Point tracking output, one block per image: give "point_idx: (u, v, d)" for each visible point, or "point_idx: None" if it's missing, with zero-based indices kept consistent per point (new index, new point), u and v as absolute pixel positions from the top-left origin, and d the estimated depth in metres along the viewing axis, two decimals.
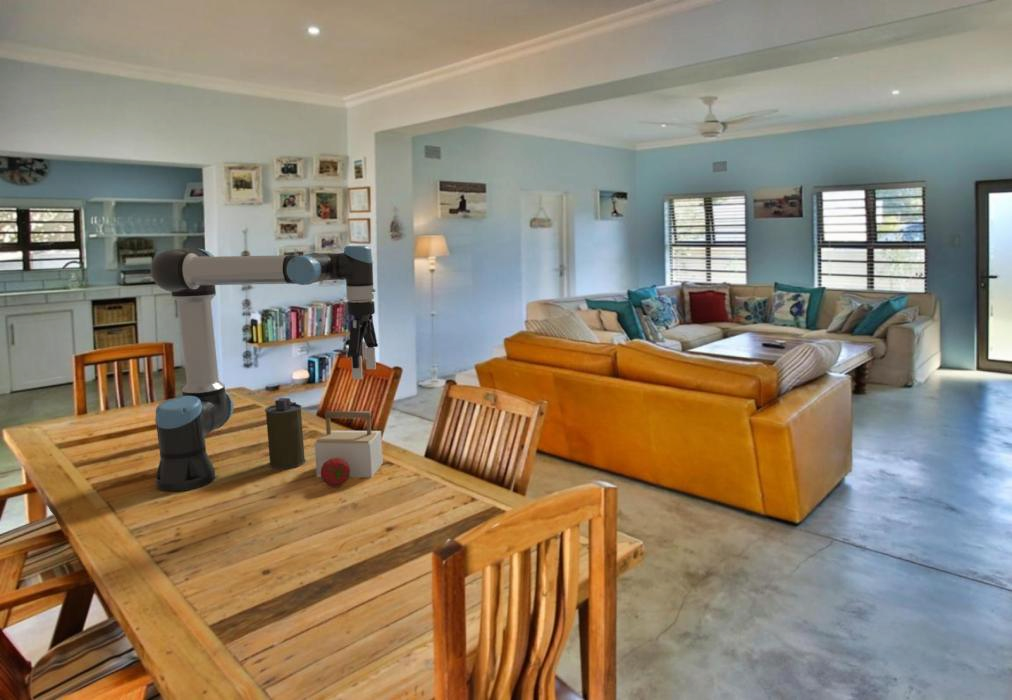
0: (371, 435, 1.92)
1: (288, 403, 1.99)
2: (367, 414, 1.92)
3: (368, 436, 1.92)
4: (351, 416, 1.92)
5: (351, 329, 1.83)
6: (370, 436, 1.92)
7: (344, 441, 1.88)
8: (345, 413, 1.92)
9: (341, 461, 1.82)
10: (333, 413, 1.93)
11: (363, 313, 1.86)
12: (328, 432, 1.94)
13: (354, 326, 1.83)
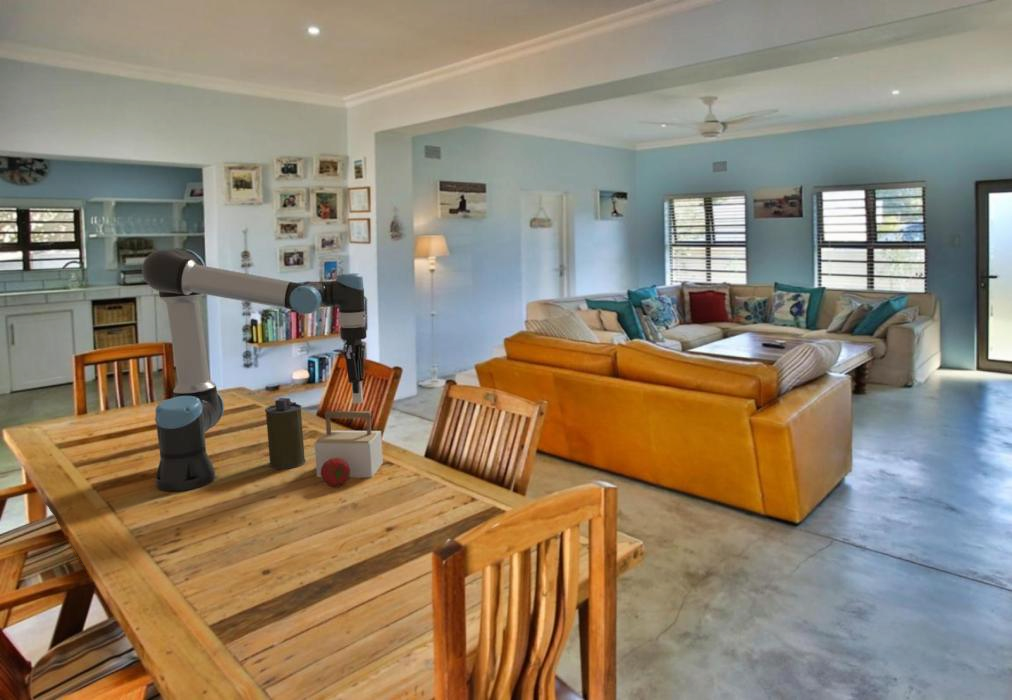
0: (371, 435, 1.92)
1: (288, 403, 1.99)
2: (367, 414, 1.92)
3: (368, 436, 1.92)
4: (351, 416, 1.92)
5: (346, 360, 1.95)
6: (370, 436, 1.92)
7: (344, 441, 1.88)
8: (345, 413, 1.92)
9: (341, 461, 1.82)
10: (333, 413, 1.93)
11: (355, 338, 1.95)
12: (328, 432, 1.94)
13: (349, 358, 1.94)
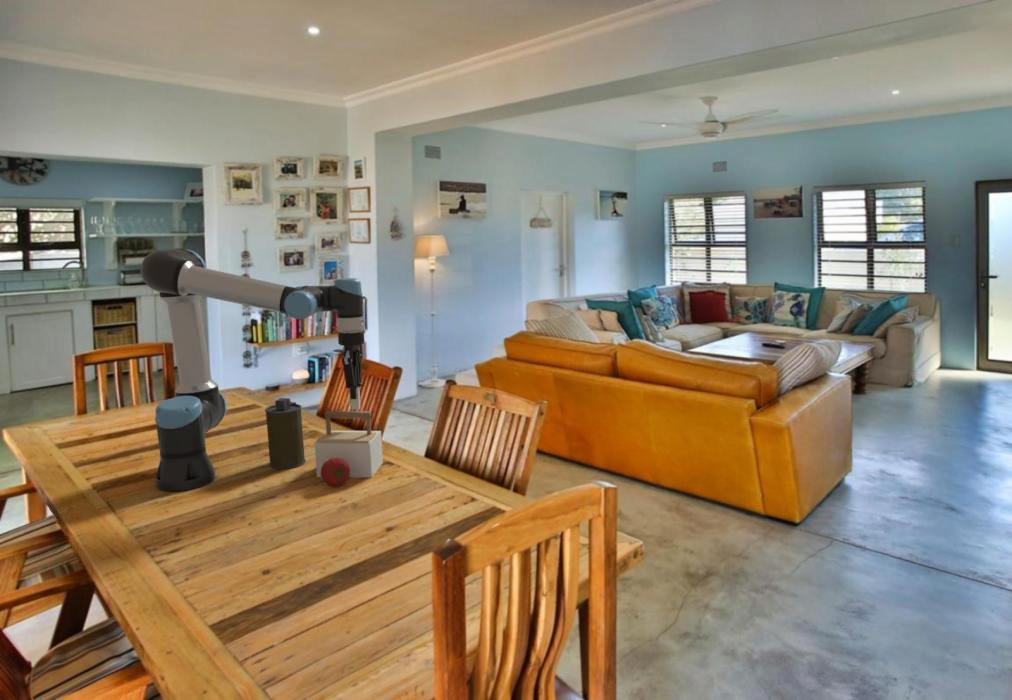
0: (371, 435, 1.92)
1: (288, 403, 1.99)
2: (367, 414, 1.92)
3: (368, 436, 1.92)
4: (351, 416, 1.92)
5: (344, 366, 1.93)
6: (370, 436, 1.92)
7: (344, 441, 1.88)
8: (345, 413, 1.92)
9: (341, 461, 1.82)
10: (333, 413, 1.93)
11: (353, 343, 1.93)
12: (328, 432, 1.94)
13: (346, 363, 1.92)
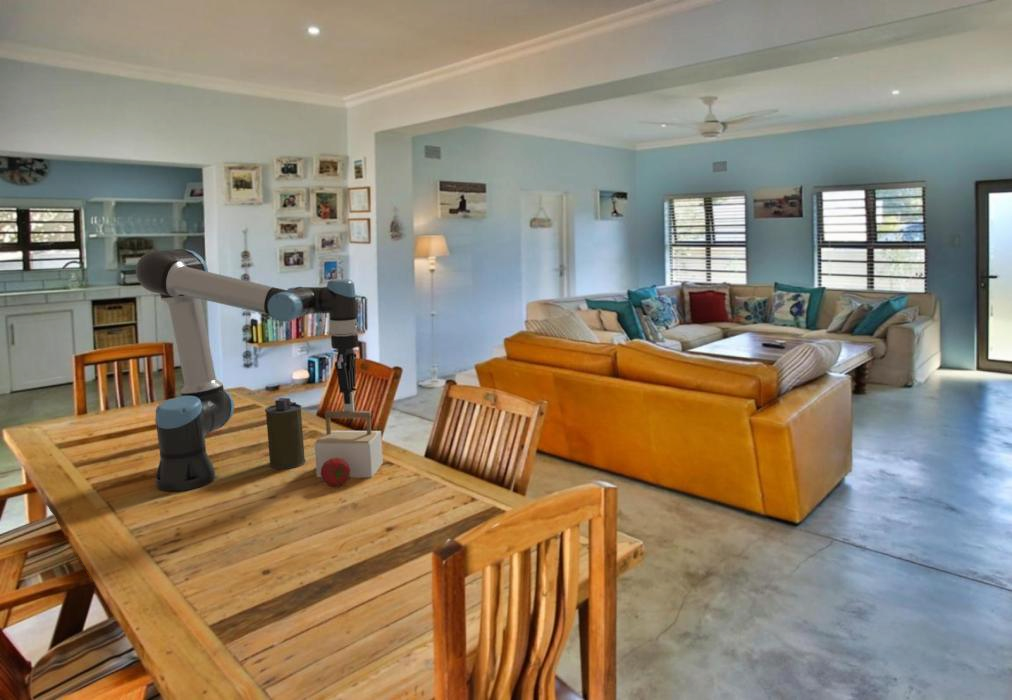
0: (371, 435, 1.92)
1: (288, 403, 1.99)
2: (367, 414, 1.92)
3: (368, 436, 1.92)
4: (351, 416, 1.92)
5: (337, 370, 1.87)
6: (370, 436, 1.92)
7: (344, 441, 1.88)
8: (345, 413, 1.92)
9: (341, 461, 1.82)
10: (333, 413, 1.93)
11: (347, 347, 1.88)
12: (328, 432, 1.94)
13: (340, 368, 1.87)
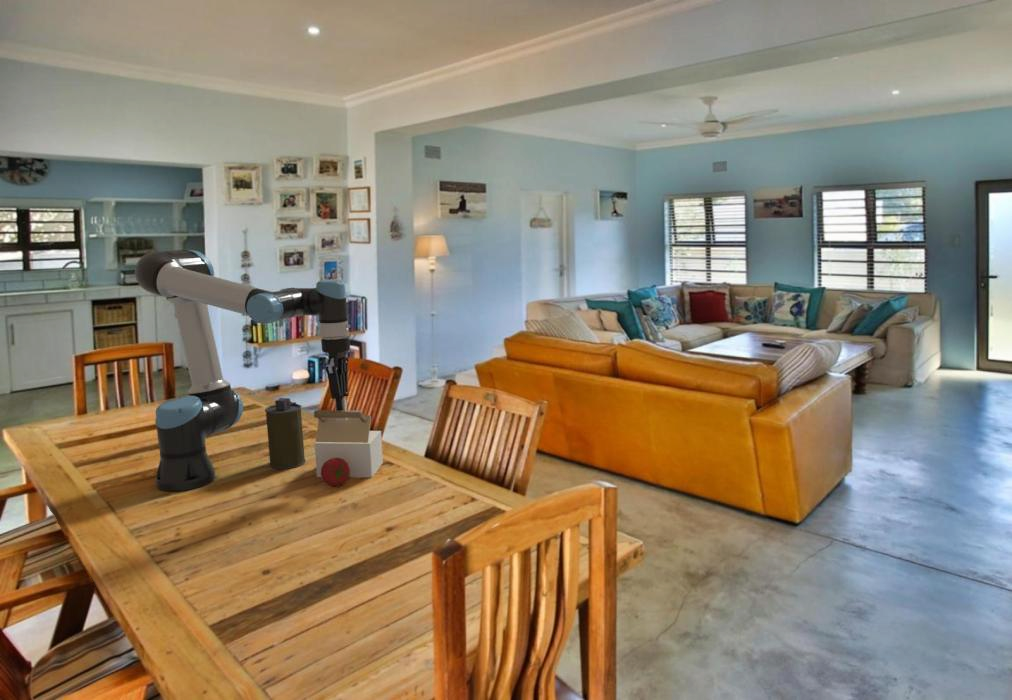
0: (367, 424, 1.89)
1: (288, 403, 1.99)
2: (358, 416, 1.83)
3: (365, 428, 1.89)
4: (342, 417, 1.84)
5: (328, 375, 1.79)
6: (367, 428, 1.89)
7: (343, 441, 1.88)
8: (335, 416, 1.84)
9: (341, 461, 1.82)
10: (323, 416, 1.84)
11: (338, 350, 1.79)
12: (323, 421, 1.90)
13: (331, 372, 1.78)
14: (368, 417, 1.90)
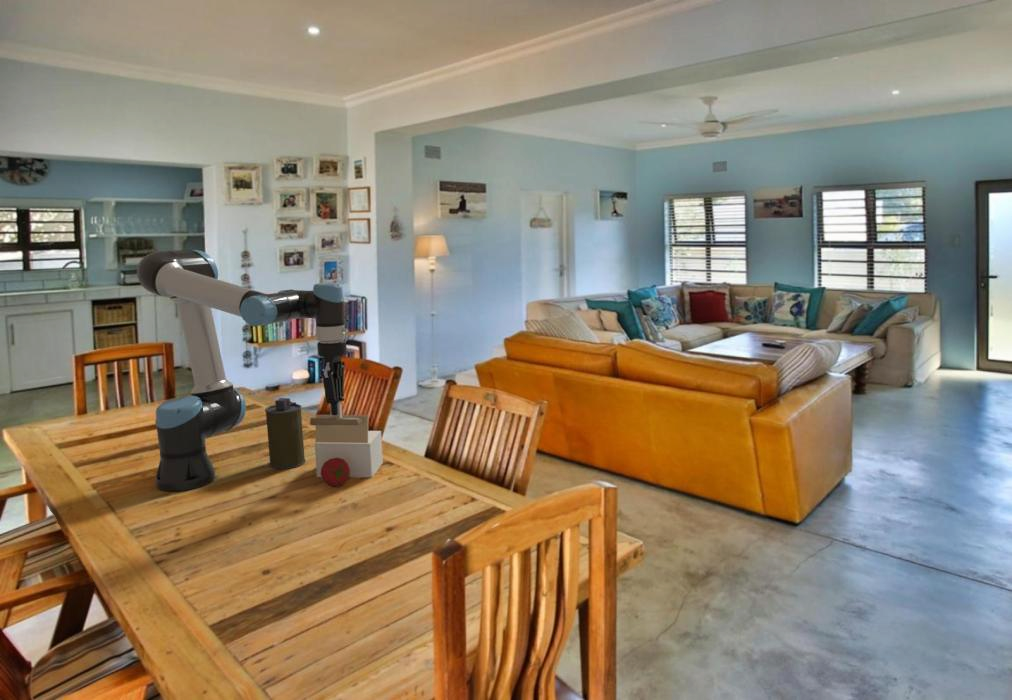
0: (365, 425, 1.87)
1: (288, 403, 1.99)
2: (355, 425, 1.81)
3: (363, 428, 1.87)
4: None
5: (323, 379, 1.76)
6: (365, 428, 1.87)
7: (343, 442, 1.88)
8: (332, 424, 1.81)
9: (341, 461, 1.82)
10: (319, 424, 1.82)
11: (334, 355, 1.77)
12: None
13: (326, 377, 1.76)
14: (365, 417, 1.87)
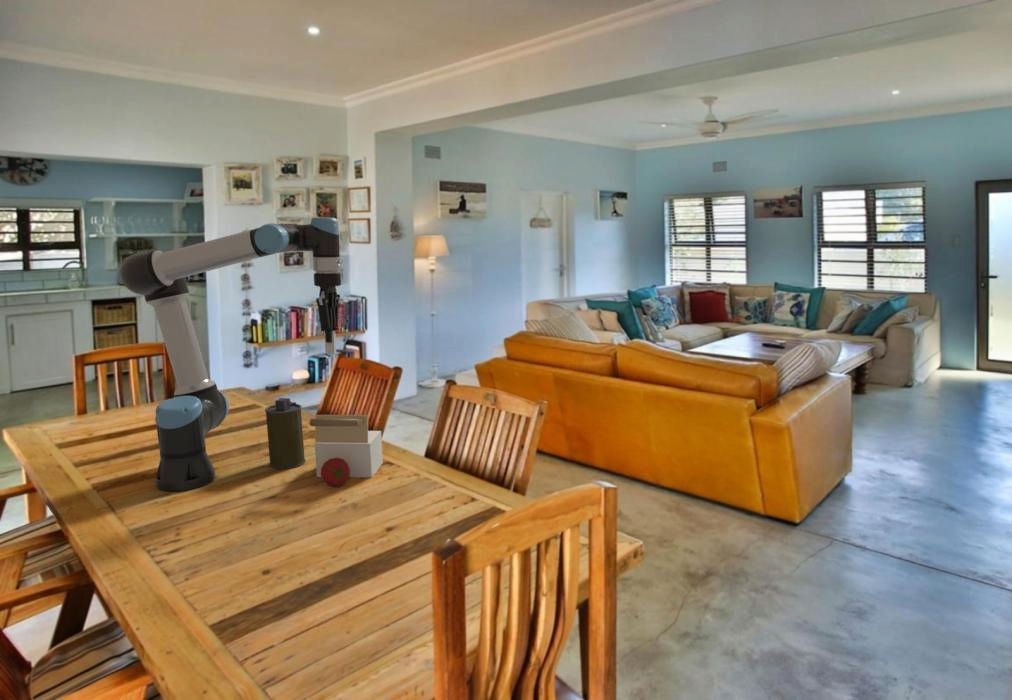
0: (365, 425, 1.87)
1: (288, 403, 1.99)
2: (355, 426, 1.81)
3: (363, 428, 1.87)
4: None
5: (319, 306, 1.88)
6: (365, 428, 1.87)
7: (343, 442, 1.88)
8: (332, 425, 1.81)
9: (341, 461, 1.82)
10: (319, 425, 1.81)
11: (328, 284, 1.89)
12: None
13: (321, 304, 1.88)
14: (365, 417, 1.87)
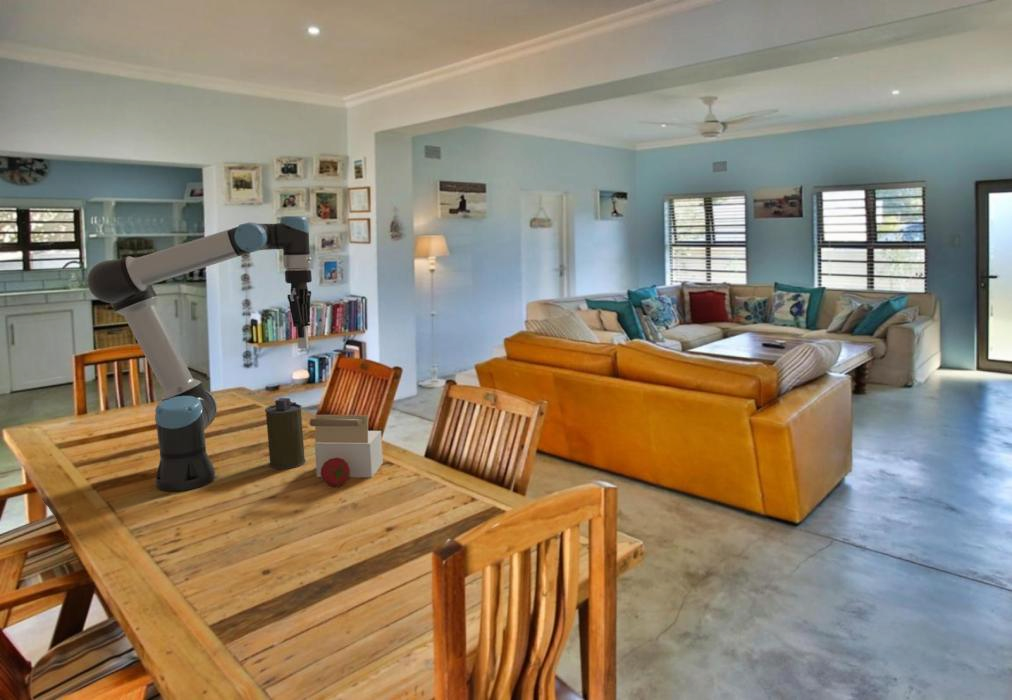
0: (365, 425, 1.87)
1: (288, 403, 1.99)
2: (355, 426, 1.81)
3: (363, 428, 1.87)
4: None
5: (290, 303, 1.94)
6: (365, 428, 1.87)
7: (343, 442, 1.88)
8: (332, 425, 1.81)
9: (341, 461, 1.82)
10: (319, 425, 1.81)
11: (299, 281, 1.95)
12: None
13: (292, 300, 1.94)
14: (365, 417, 1.87)
